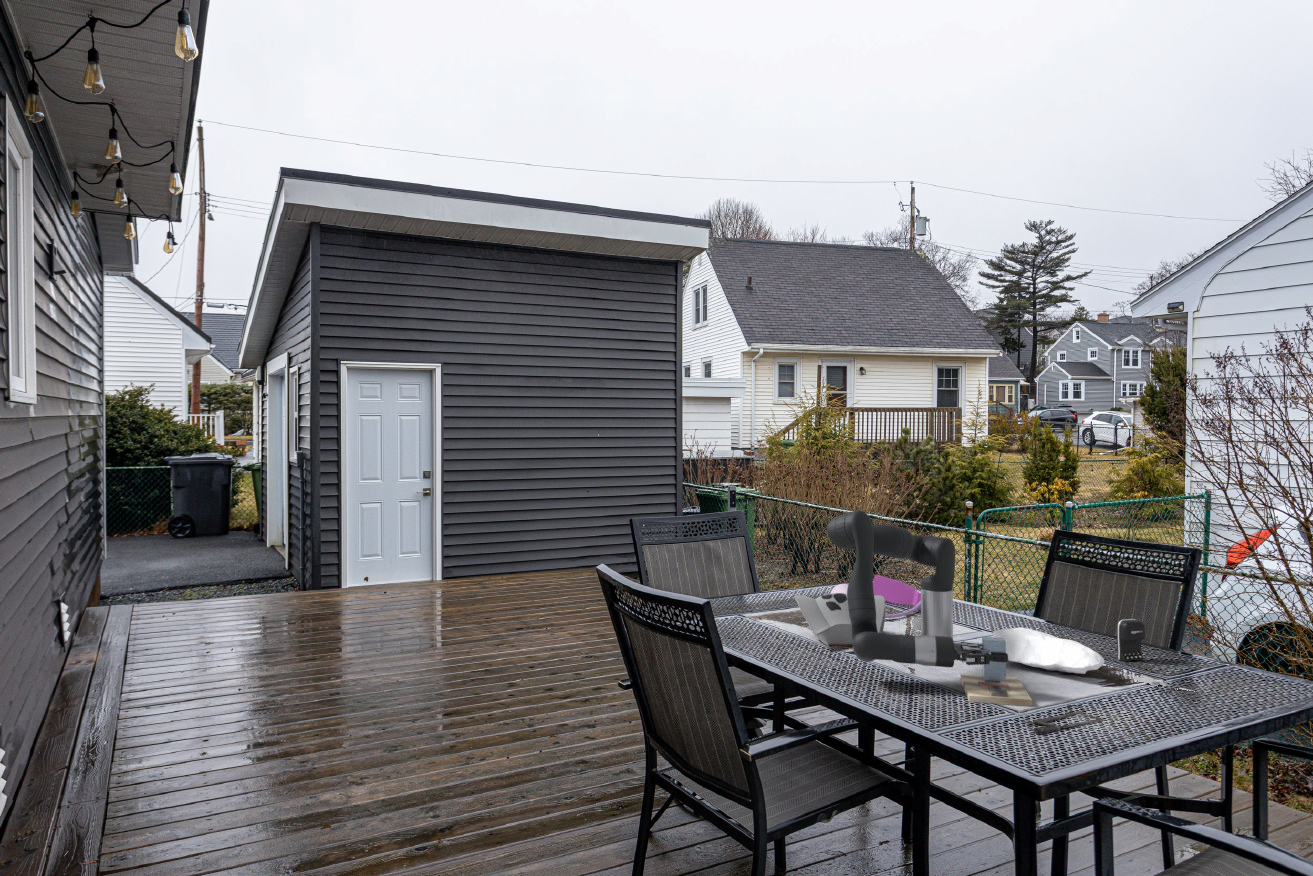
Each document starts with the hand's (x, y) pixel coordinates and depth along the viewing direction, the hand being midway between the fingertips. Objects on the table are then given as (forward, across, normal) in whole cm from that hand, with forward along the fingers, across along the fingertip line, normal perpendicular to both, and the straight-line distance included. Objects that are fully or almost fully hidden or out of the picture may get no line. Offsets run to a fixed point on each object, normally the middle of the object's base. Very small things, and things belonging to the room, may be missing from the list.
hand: (1005, 655), depth 201 cm
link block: (-3, 0, +6) cm, 7 cm away
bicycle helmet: (-42, +44, +10) cm, 61 cm away
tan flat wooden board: (-3, 0, +9) cm, 10 cm away
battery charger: (+39, +39, +9) cm, 56 cm away
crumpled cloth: (+15, +28, +10) cm, 33 cm away
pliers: (+39, +13, +10) cm, 42 cm away
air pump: (-30, +88, +10) cm, 93 cm away
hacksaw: (+8, -17, +10) cm, 21 cm away
